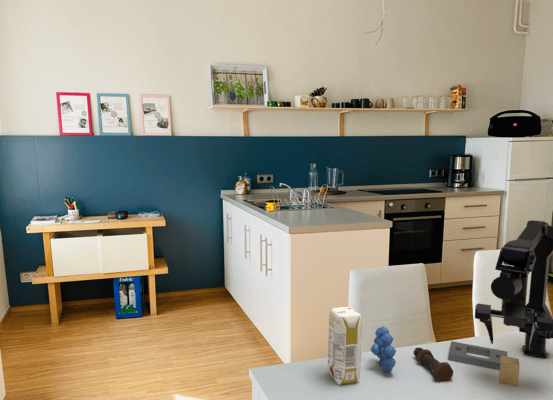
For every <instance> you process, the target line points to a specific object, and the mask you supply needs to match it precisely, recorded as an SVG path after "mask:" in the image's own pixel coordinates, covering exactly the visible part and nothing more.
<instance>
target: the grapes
mask: <svg viewBox="0 0 553 400" xmlns="http://www.w3.org/2000/svg"><path fill="white" fill-rule="evenodd" d="M374 334H375V338H374V339H373V344H372V345H371V346H370V351H371V353H372V354H373V355H374V356H376V357H377V358H378V363H377V364H378V365H379V367H380V368H381V369H382V370H383V371H385V372H386V373H387V374H390V373H391V372H392V370H393V368H394V367H395V365H396V363H397V361H396V359H395V358H394V357H395V355H396V353H397V350H396V348H395V347H394V346H393V345H392V343H393V341H394V337H393V336H392V334H390V331H389V329H388V328H387V327H385V326H384V325H383V326H381V327H378V328H376V330H375V333H374Z"/></svg>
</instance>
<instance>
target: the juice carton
mask: <svg viewBox="0 0 553 400" xmlns="http://www.w3.org/2000/svg"><path fill="white" fill-rule="evenodd" d="M328 317H329V318H328V319H329V320H328V344H327V345H328V347H327V369H328V374H329V376H331V378H333V380H334V381H335V382H336V384H337V385H338V386H342V385H343V386H344V385H350V384H357V383H359V382H360V376H361V369H362V367H361V366H362V365H361V362H362V341H363V340H362V337H363V335H362V334H363V333H362V332H363V320H362V319H363V318H362V314H360V313H359V312H357V311H355V309H354V308H353V307H352V306H339V307H332V308H330V310H329V316H328Z"/></svg>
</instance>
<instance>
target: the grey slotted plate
mask: <svg viewBox="0 0 553 400" xmlns="http://www.w3.org/2000/svg"><path fill="white" fill-rule="evenodd" d="M467 353H469V354H467ZM470 354H472V355H470ZM475 355H479V356H475ZM482 356H483V357H482ZM500 356H506V357H509V356H508V351H507V350H504V349H503V350H501V349H496V348H491V347H490V348H489V347H484V346H479V345H475V344H469V343H462V342H458V341H452V340H451V341H450V346H449V351H448V355H447V358H448V361H453V362H456V363H462V364H466V365H467V364H468V365H472V366H478V367H483V368H486V369H492V370H497V371H499V370H500ZM487 357H489V358H487Z"/></svg>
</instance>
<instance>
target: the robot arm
mask: <svg viewBox="0 0 553 400" xmlns="http://www.w3.org/2000/svg"><path fill="white" fill-rule="evenodd" d="M552 255H553V226H551V225H549V223H548V222H546V221H543V220H533V219H531V220H528V221H527V222H526V226H525V227H524V228H523V230H522V231H521V233H520V234H519V236H518V237H517V238H516V239H512V240H508V242H506V243H505V244H504V245H503V246H502V247H500V251H499V255H498V257H497V262H496V265H495V267H494V270H495V271H500V273H499V276H498V277H496V278H494V279H492V282H491V284H490V289H491V292H492V294H493V295H494V297H496V298H497V299H499V300H501V309H500V310H499V309H495V308H494V309H492V305H491V304H484V303H479V302H478V303H477V304H475V307H474V308H475V309H474V318H475V320H479V322H480V323H483V324H484V326H485V328H486V331H487V333H488V337H489V341H490V344H492V345H493V344H494V334H493V333H494V329H493V318H499V319H500V318H501V319H503V324H504V325H505V326H508V327H510V326H511V327H517V328H518V331H519V333H524V344H522V354H523V355H527V356H534V357H538V358H544V359H548V353H547V350H546V347H547V340H551V339H553V315H552V314H551V311H550V309H549V307H548V306H547V304H546V300H547V289H548V281H549V268H550V260H551V259H550V258H551V256H552ZM529 274H530V283H529V293H528V280H529ZM527 294H529V295H528V302H527Z"/></svg>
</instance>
